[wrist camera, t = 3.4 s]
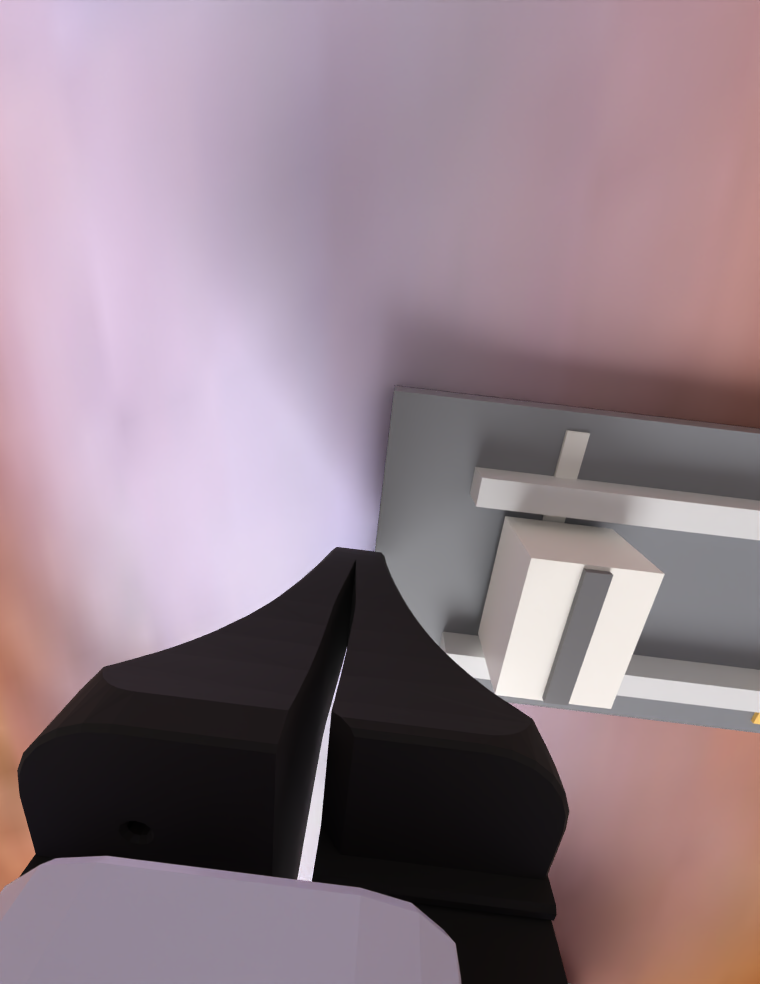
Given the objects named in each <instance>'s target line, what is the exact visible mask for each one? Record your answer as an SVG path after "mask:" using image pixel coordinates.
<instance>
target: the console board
mask: <svg viewBox="0 0 760 984" xmlns="http://www.w3.org/2000/svg"><path fill="white" fill-rule="evenodd" d="M505 516H508V517H517V518H525V519H533V520H542V521H550V522H558V523H567V524H575V525H584V526H592V527H600V528H609V529H613V530H614V531H615V532H616V533H618V534H619V535H620V536H621V537H622V538H623V539H625V540H626V541H627V542H628V543H629V544H630V545H632V546H633V547H634V548H635V549H636V550H637V551H639V552H640V553H641V554H642V555H643V556H644V557H645V558H647V559H648V560H649V561H650V562H651V563H652V564H654V565H655V566H656V567H657V568H658V569H659V570H661V571H662V572H663V573H664V574H665V575H664V577H663V580H662V582H661V585H660V587H659V590H658V592H657V595H656V597H655V600H654V602H653V605H652V607H651V610H650V612H649V615H648V617H647V620H646V622H645V625H644V627H643V630H642V632H641V635H640V637H639V640H638V642H637V645H636V647H635V650H634V652H633V655H632V657H631V660H630V662H629V665H628V667H627V670H626V672H625V675H624V678H623V680H622V683H621V685H620V688H619V690H618V693H617V695H616V698H615V700H614V703H613V705H612V708H611V709H607V708H598V707H590V706H582V705H574V704H568V706H567V705H559V704H551V703H544V701H541V700H533V699H525V698H516V697H508V696H500V695H497V696H499V697H500V698H502V699H503V700H505V701H506V702H509V703H517V704H525V705H533V706H541V707H550V708H558V709H566V710H574V711H582V712H591V713H599V714H607V715H615V716H623V717H632V718H640V719H648V720H656V721H664V722H673V723H681V724H689V725H697V726H705V727H714V728H722V729H730V730H738V731H746V732H755V733H760V429H759V428H751V427H742V426H734V425H725V424H717V423H708V422H700V421H692V420H683V419H675V418H666V417H658V416H649V415H641V414H632V413H624V412H615V411H607V410H598V409H590V408H581V407H573V406H564V405H556V404H547V403H539V402H530V401H522V400H514V399H505V398H497V397H488V396H480V395H471V394H463V393H454V392H446V391H437V390H429V389H420V388H412V387H403V386H395V387H394V395H393V404H392V412H391V420H390V429H389V437H388V446H387V454H386V462H385V471H384V479H383V488H382V496H381V504H380V513H379V521H378V530H377V538H376V546H375V552H381V553H382V554H383V555H384V556H385V560H386V563H387V566H388V569H389V571H390V574H391V576H392V578H393V580H394V582H395V584H396V586H397V588H398V590H399V592H400V594H401V596H402V597H403V599H404V601H405V602H406V604H407V606H408V607H409V609H410V610H411V612H412V613H413V615H414V616H415V618H416V619H417V620H418V622H419V623H420V624H421V626H422V627H423V628H424V630H425V631H426V632H427V633H428V635H429V636H430V637H431V638H432V639H433V640H434V641H435V643H436V644H437V645H438V646H439V647H440V648H441V649H442V650H443V651H444V652H445V653H446V654H447V655H448V656H449V657H451V658H452V659H453V660H454V661H455V662H456V663H457V664H458V665H459V666H460V667H461V668H463V669H464V670H465V671H466V672H467V673H468V674H470V675H471V676H472V677H473V678H475V679H476V680H477V681H478V682H480V683H481V684H482V685H483V686H485V687H486V688H487V689H489V690H490V691H491V692H493V693H494V690H493V687H492V683H491V679H490V676H489V672H488V668H487V665H486V661H485V657H484V654H483V650H482V646H481V643H480V639H479V635H478V631H479V627H480V622H481V618H482V614H483V610H484V605H485V601H486V597H487V592H488V588H489V584H490V580H491V575H492V571H493V567H494V562H495V558H496V554H497V549H498V545H499V541H500V537H501V532H502V528H503V524H504V519H505Z"/></svg>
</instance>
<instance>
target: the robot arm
mask: <svg viewBox="0 0 760 984" xmlns="http://www.w3.org/2000/svg"><path fill="white" fill-rule="evenodd" d="M346 649H347V652H346ZM345 652H346V656H345ZM344 656H345V660H344ZM343 660H344V665H343V669H342V673H341V677H340V681H339V685H338V689H337V693H336V697H335V701H334V704H333V708H332V713H331V724H330V734H329V745H328V756H327V767H326V778H325V789H324V800H323V811H322V821H321V829H320V835H319V841H318V847H317V853H316V859H315V866H314V872H313V878H312V882H311V881H303V880H297V877H298V872H299V866H300V860H301V854H302V848H303V843H304V837H305V831H306V826H307V820H308V814H309V809H310V803H311V797H312V792H313V786H314V781H315V775H316V770H317V764H318V759H319V753H320V748H321V742H322V737H323V733H324V729H325V725H326V721H327V717H328V713H329V710H330V706H331V703H332V699H333V695H334V692H335V688H336V685H337V681H338V678H339V674H340V670H341V667H342V663H343ZM17 771H18V782H19V793H20V798H21V802H22V805H23V809H24V813H25V816H26V820H27V824H28V827H29V831H30V834H31V838H32V842H33V845H34V849H35V853H36V854H35V856H34V857H33V859H32V860H31V861H30V863H29V864H28V866H27V867H26V868H25V870H24V871H23V873H22V874H21V875H20V877H19V878H18V879H16V880H14V881H13V882H11V883H10V884H8V885H6V886H5V887H4V889H3V890H2V891H1V893H0V984H569V983H568V982H567V978H566V975H565V971H564V967H563V963H562V959H561V956H560V952H559V948H558V944H557V940H556V937H555V933H554V929H553V925H552V921H551V920H554V919H555V917H556V904H555V900H554V897H553V893H552V889H551V886H550V882H549V879H548V872H549V870H550V867H551V865H552V862H553V860H554V857H555V855H556V852H557V850H558V847H559V845H560V842H561V840H562V837H563V835H564V832H565V830H566V825H567V820H568V815H569V808H568V803H567V798H566V793H565V791H564V788H563V785H562V782H561V780H560V777H559V774H558V772H557V769H556V766H555V764H554V762H553V760H552V758H551V755H550V753H549V751H548V749H547V747H546V745H545V743H544V741H543V739H542V737H541V735H540V733H539V731H538V729H537V727H536V725H535V723H534V721H533V719H532V718H530V717H529V716H527V715H526V714H524V713H523V712H521V711H520V710H518V709H517V708H515V707H514V706H512V705H511V704H509V703H508V702H506V701H505V700H503V699H502V698H500V697H499V696H497V695H496V694H494V693H493V692H491V691H490V690H489V689H487V688H486V687H485V686H483V685H482V684H481V683H480V682H478V681H477V680H476V679H475V678H473V677H472V676H471V675H470V674H468V673H467V672H466V671H465V670H464V669H463V668H461V667H460V666H459V665H458V664H457V663H456V662H455V661H454V660H453V659H452V658H451V657H449V656H448V655H447V654H446V653H445V652H444V651H443V650H442V649H441V648H440V647H439V646H438V645H437V644H436V643H435V641H434V640H433V639H432V638H431V637H430V636H429V635H428V633H427V632H426V631H425V630H424V628H423V627H422V626H421V624H420V623H419V622H418V620H417V619H416V618H415V616H414V615H413V613H412V612H411V610H410V609H409V607H408V606H407V604H406V602H405V601H404V599H403V597H402V596H401V594H400V592H399V590H398V588H397V586H396V584H395V582H394V580H393V578H392V576H391V574H390V571H389V569H388V566H387V563H386V560H385V556H384V555H383V554H382V553H381V552H374V551H365V550H357V549H349V548H341V547H336V548H335V549H333V550H332V551H331V552H330V553H329V554H328V555H327V556H326V557H325V558H324V559H323V560H322V561H321V562H320V563H319V564H318V565H317V566H316V567H315V568H314V569H313V570H312V571H310V572H309V573H308V574H307V575H306V576H305V577H303V578H302V579H301V580H300V581H299V582H298V583H296V584H295V585H294V586H292V587H291V588H290V589H288V590H287V591H286V592H284V593H283V594H282V595H280V596H279V597H278V598H276V599H275V600H273V601H272V602H270V603H269V604H267V605H265V606H264V607H262V608H260V609H258V610H257V611H255V612H253V613H251V614H250V615H248V616H246V617H244V618H242V619H239V620H237V621H235V622H233V623H231V624H229V625H227V626H225V627H223V628H221V629H219V630H217V631H214V632H212V633H209V634H207V635H204V636H202V637H199V638H197V639H194V640H192V641H189V642H186V643H183V644H181V645H178V646H175V647H172V648H169V649H166V650H163V651H160V652H156V653H153V654H149V655H146V656H142V657H139V658H135V659H132V660H128V661H125V662H121V663H118V664H114V665H110V666H106V667H103V668H102V669H101V670H100V671H99V672H98V673H97V674H96V675H95V676H94V677H93V678H92V679H91V680H90V681H89V682H88V683H87V684H86V685H85V686H84V687H83V688H82V689H81V690H80V691H79V692H78V693H77V694H76V696H75V697H74V698H73V699H72V700H71V701H70V702H69V703H68V704H67V705H66V707H65V708H64V709H63V710H62V711H61V712H60V713H59V714H58V715H57V716H56V718H55V719H54V720H53V721H52V722H51V723H50V724H49V725H48V726H47V728H46V729H45V730H44V731H43V732H42V733H41V734H40V735H39V736H38V737H37V739H36V740H35V741H34V742H33V743H32V744H31V745H30V746H29V747H28V748H27V749H26V751H25V752H24V753H23V755H22V758H21V761H20V764H19V767H18V770H17Z"/></svg>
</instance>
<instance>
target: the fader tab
mask: <svg viewBox="0 0 760 984" xmlns="http://www.w3.org/2000/svg"><path fill="white" fill-rule="evenodd" d="M664 575H665V574H664V573H663V572H662V571H661V570H659V569H658V568H657V567H656V566H655V565H654V564H652V563H651V562H650V561H649V560H648V559H647V558H645V557H644V556H643V555H642V554H641V553H640V552H639V551H637V550H636V549H635V548H634V547H633V546H632V545H630V544H629V543H628V542H627V541H626V540H625V539H623V538H622V537H621V536H620V535H619V534H618V533H616V532H615V531H614V530H613V529H609V528H600V527H592V526H584V525H575V524H567V523H558V522H550V521H542V520H533V519H525V518H517V517H508V516H505V519H504V524H503V528H502V532H501V537H500V541H499V545H498V549H497V554H496V558H495V562H494V567H493V571H492V575H491V580H490V584H489V588H488V592H487V597H486V601H485V605H484V610H483V614H482V618H481V622H480V627H479V631H478V635H479V639H480V643H481V646H482V650H483V654H484V657H485V661H486V665H487V668H488V672H489V676H490V679H491V683H492V687H493V690H494V694H496V695H500V696H508V697H516V698H525V699H533V700H541V701H544V703H551V704H559V705H567V706H568V704H574V705H582V706H590V707H598V708H607V709H611V708H612V705H613V703H614V700H615V698H616V695H617V693H618V690H619V688H620V685H621V683H622V680H623V678H624V675H625V672H626V670H627V667H628V665H629V662H630V660H631V657H632V655H633V652H634V650H635V647H636V645H637V642H638V640H639V637H640V635H641V632H642V630H643V627H644V625H645V622H646V620H647V617H648V615H649V612H650V610H651V607H652V605H653V602H654V600H655V597H656V595H657V592H658V590H659V587H660V585H661V582H662V580H663V577H664Z"/></svg>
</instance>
